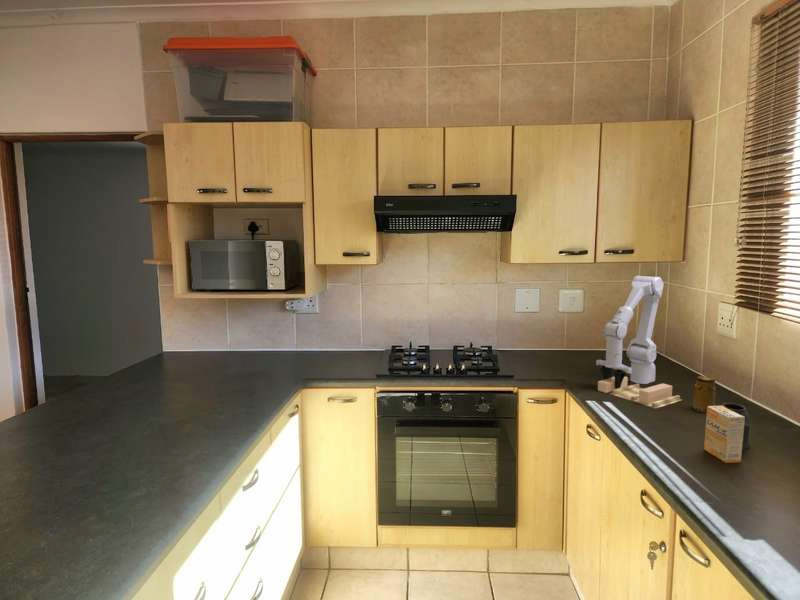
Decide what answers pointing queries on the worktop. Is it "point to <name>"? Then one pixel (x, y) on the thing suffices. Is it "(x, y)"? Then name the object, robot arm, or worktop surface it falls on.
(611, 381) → the clay bar
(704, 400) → the condiment
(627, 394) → the rack
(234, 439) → the worktop surface
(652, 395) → the clay bar
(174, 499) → the worktop surface
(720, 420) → the supplement box
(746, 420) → the mug
